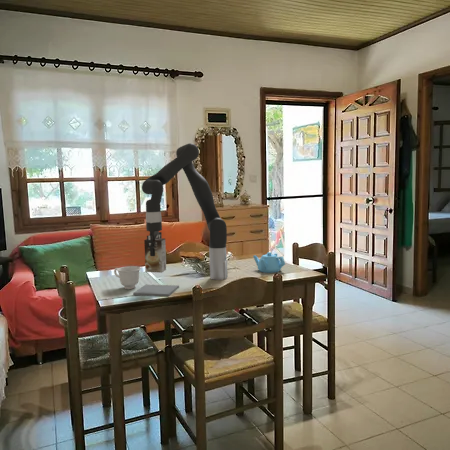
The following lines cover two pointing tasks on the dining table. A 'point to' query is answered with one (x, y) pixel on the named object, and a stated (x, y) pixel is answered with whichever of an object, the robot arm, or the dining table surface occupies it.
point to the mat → (156, 290)
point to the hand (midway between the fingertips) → (155, 254)
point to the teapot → (269, 263)
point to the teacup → (128, 276)
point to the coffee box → (156, 257)
